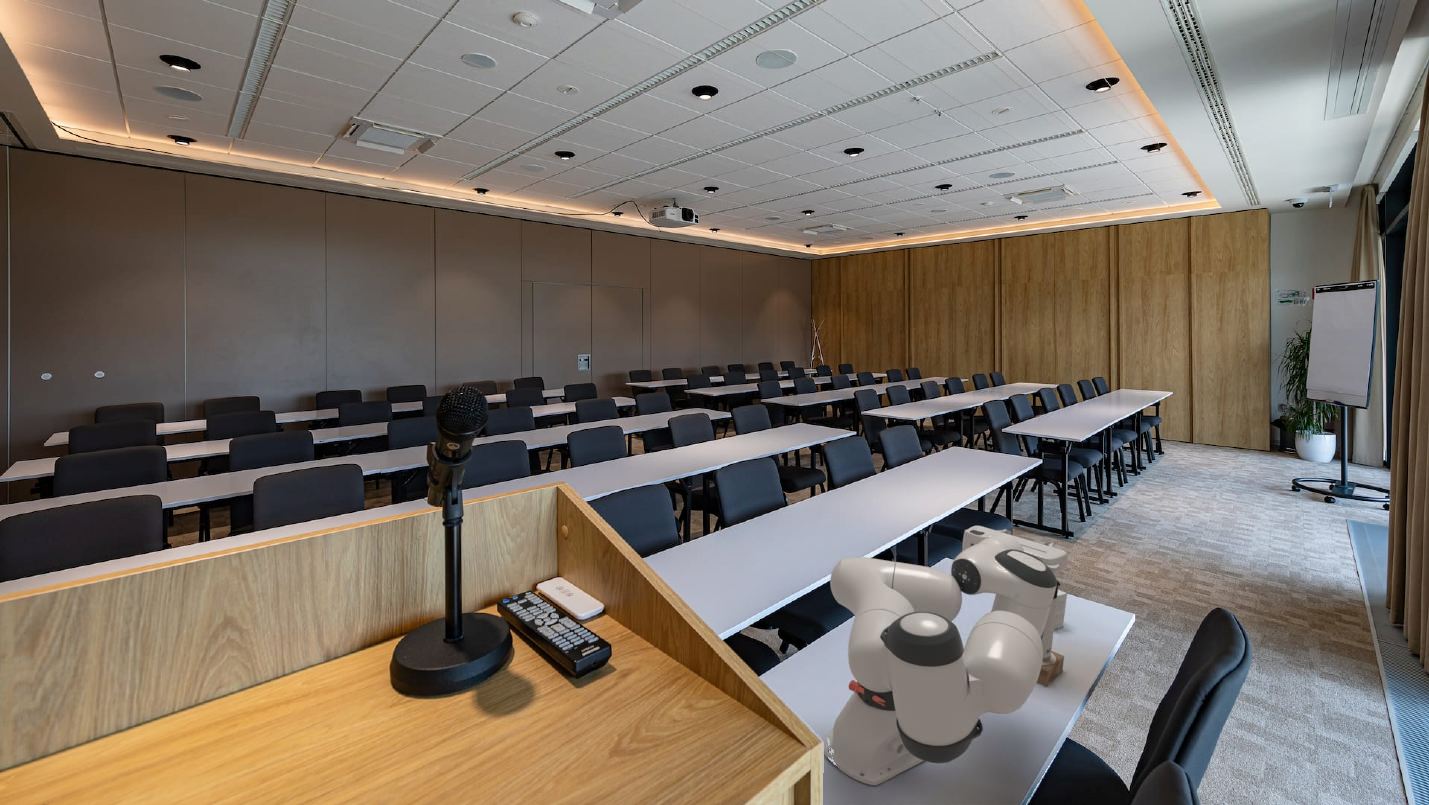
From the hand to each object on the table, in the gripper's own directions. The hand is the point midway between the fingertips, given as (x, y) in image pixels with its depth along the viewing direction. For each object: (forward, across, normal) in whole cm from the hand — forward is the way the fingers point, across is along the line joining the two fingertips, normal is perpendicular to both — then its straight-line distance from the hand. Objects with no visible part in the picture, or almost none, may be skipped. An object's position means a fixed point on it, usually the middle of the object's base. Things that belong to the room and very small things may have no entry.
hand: (1029, 539), depth 139 cm
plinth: (+12, 0, +38) cm, 40 cm away
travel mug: (+12, 0, +34) cm, 36 cm away
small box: (+38, +8, +38) cm, 55 cm away
